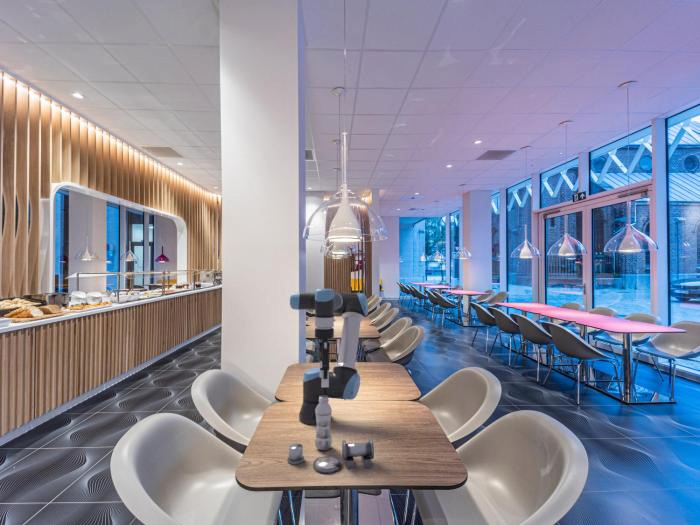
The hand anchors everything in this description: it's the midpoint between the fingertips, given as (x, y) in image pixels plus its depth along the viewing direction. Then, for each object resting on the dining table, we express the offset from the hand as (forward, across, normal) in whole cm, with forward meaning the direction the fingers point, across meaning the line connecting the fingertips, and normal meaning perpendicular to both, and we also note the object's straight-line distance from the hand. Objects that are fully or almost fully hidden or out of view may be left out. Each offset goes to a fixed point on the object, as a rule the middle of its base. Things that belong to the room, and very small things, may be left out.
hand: (323, 382), depth 142 cm
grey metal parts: (+26, -13, -6) cm, 30 cm away
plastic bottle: (+26, 0, 0) cm, 26 cm away
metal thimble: (+26, -8, +11) cm, 29 cm away
